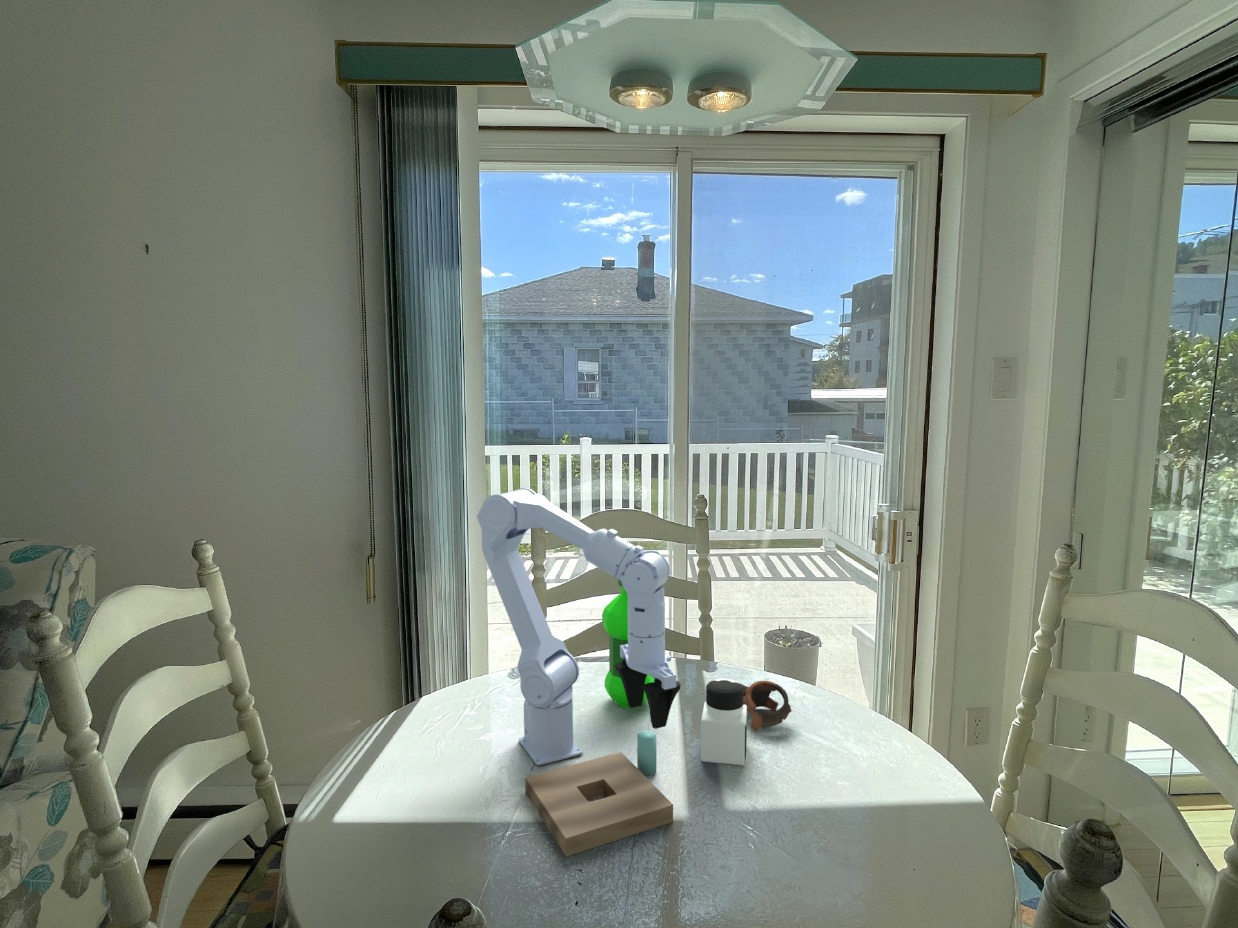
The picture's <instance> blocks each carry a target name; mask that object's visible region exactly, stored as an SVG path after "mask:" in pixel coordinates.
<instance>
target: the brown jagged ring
mask: <svg viewBox="0 0 1238 928" xmlns="http://www.w3.org/2000/svg"><path fill="white" fill-rule="evenodd" d="M740 684H741V685H742V686H743V705H746V706H747V713H749V715H750V716H751V720H750V723H749V727H750V728H751V729H752V730H753V731H755V732H759V731H760V730H761V728H762V729H765V728H770V727H772V726H773V727H774V726H777V725H779V724H782V723H783V721H785V720H786V719H787V718H788V716H789V715H790V713H791V712H793V711H792V709H791V704H790V703H789V696H788V693H787V691H786V690H785V689H784V688H783V687H782V686H781V685H779V684H778V683H775V682H772V681H770V680H757V681H755V682H754V683H752V684H751V685H750V686H746V685H744V684H742V683H740ZM776 691H777V692H778V693H779V694H780V695H781V697H782V699H783V704H782V705H781V707H780V708H779V709H778V706H779V702H777V701H776V700H774V699H773V698H771V697H770V695H771V693H772V692H776ZM760 707H763V708H766V709H769V710H764V709H761V713H759V712H758V711H757V710H756V709H757V708H760ZM770 710H771V711H770Z"/></svg>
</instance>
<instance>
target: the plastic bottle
mask: <svg viewBox="0 0 1238 928" xmlns="http://www.w3.org/2000/svg"><path fill="white" fill-rule="evenodd" d="M617 584H618V585H617V586H619V587H620V593H619V594H618V595H617V596H616V597H614V598H613V599H612V600H611V601H610V602H609V603H607V605H606V606H605V607H604V608H603V612H602V614H601V623H602V627H603V629H604V630H605V631H606V633H607V634H608V647H609V648H608V655H609V656H608V657H609V658H608V660H609V662H608V663H609V665H608V667H609V668H608V669H609V670H608V671H607V674H606V675H605V678H604V688H605V690H606V691H605V692H606V693H607V694H608V696H609V697H610V698H611V699H612V701H613V702H615V703H616V704H617V706H618V707H620V708H621V707H622V708H624V709H631V708H630V707H629V705H628V702H627V697H626V693H625V689H624V686H623V683H622V680H621V677H620V675H619V673H618V671H617V670H616V668H615V664H616V663H619V662H623V660H624V659H623V658H621V657H620V646H621V645H626V644H628V594H627V592H626V590H625V589H624V587H623V585H622V583H621V580H619V579H617ZM652 682H654V678H653V677H652V676H650V675H647V676H646V680H645V684H647V683H652ZM646 702H648V700H647V697H646V694H645V692H644V698H643V704H642V706H643V705H644V704H645V703H646ZM636 708H638V707H636ZM636 708H635V709H636Z"/></svg>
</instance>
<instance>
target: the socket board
mask: <svg viewBox="0 0 1238 928" xmlns="http://www.w3.org/2000/svg"><path fill="white" fill-rule="evenodd" d="M524 784H525V785H524V788H525V789H524V791H525V794H526V796H527V798H528V799H529V801H530V803H531V804H532V805H533V807H534V808H535V810H536V812H537V813H538V815H539V817H540V818H541V820H542V821H543V823H544V824H545V826H546V828H547V830H548V831H549V832H550V833H551V835H552V837H553V839H554V840H555V842H556V843H557V845H558V847H559V848H560V850H561V851H562V853H563V854H564V856H565V857H570V856H572V855H573V856H574V855H576V854H578V853H581V852H584V851H588V850H590V849H594V848H596V847H600V846H604V845H607V844H609V843H612V842H615V841H618V840H619V841H620V840H621V839H624V838H628V837H630V836H634V835H637V834H641V833H643V832H646V831H649V830H652V829H655V828H658V827H660V826H665V825H667V824H670V823H674V804H673V803H672V802H671V800H669V799H668V797H666V796H665V795H664V794H663V793H662V791H660V790H659V788H657V787H656V785H654V784H653V782H652V781H650V780H649V779H648V777H645V775H644V774H643V773H642V772H641V771H640V770H639V769H638V768H637V766H636V765H635V764H634V763H633V762H632V761H631V760H630V759H629V758H628V757H627V756H626V755H625V754H624V753H623V752H622V751H621V752H620V751H619V752H615V753H612V754H608V755H607V754H606V755H604V756H599V757H596V758H593V759H590V760H585V761H581V762H578V763H573V764H570V765H567V766H562V767H559V768H555V769H552V770H547V771H543V772H540V773H536V774H532V775H528V776H525V777H524ZM602 796H604V797H603V798H599V797H602ZM595 798H599V799H597V800H594V801H593V800H592V801H588V800H591V799H595Z"/></svg>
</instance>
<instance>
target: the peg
mask: <svg viewBox="0 0 1238 928" xmlns="http://www.w3.org/2000/svg"><path fill="white" fill-rule="evenodd" d="M636 736H637V739H636V743H637V745H636V746H637V747H636V751H637V753H636V754H637V755H636V756H637V757H636V758H637V761H636V762H637V766H636V767H637V768H638V769H639V770H640V771H641V772H642V773H643V774H644V775H645V777H646V778H648V777H653V776H655V775H656V774H657V733H656V732H655V731H653V730H648V729H646V730H645V729H644V730H641V731H639V732H637V734H636Z"/></svg>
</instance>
